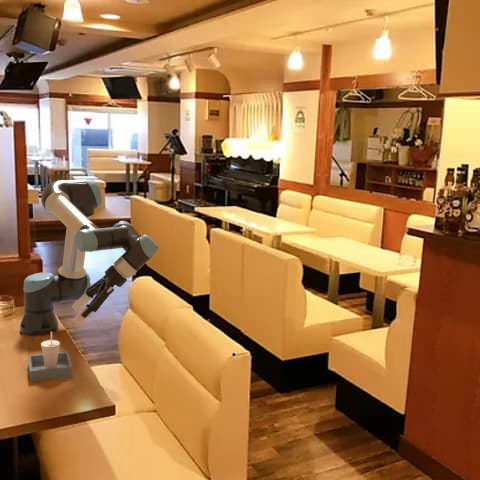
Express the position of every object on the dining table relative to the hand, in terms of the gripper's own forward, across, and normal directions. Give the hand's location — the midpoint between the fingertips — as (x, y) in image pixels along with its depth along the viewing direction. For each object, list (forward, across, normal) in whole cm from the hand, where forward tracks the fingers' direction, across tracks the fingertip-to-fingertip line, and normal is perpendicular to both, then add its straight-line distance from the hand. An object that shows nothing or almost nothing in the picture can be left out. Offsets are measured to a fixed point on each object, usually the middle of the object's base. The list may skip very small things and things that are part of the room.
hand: (74, 315), depth 193 cm
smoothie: (+20, +4, -9) cm, 23 cm away
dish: (+21, +4, -9) cm, 23 cm away
